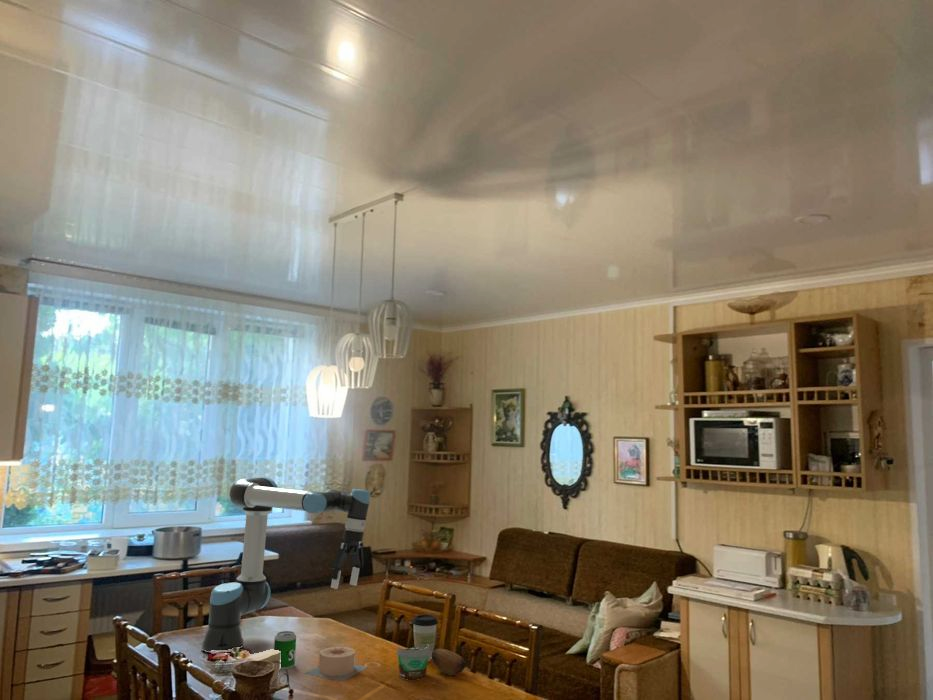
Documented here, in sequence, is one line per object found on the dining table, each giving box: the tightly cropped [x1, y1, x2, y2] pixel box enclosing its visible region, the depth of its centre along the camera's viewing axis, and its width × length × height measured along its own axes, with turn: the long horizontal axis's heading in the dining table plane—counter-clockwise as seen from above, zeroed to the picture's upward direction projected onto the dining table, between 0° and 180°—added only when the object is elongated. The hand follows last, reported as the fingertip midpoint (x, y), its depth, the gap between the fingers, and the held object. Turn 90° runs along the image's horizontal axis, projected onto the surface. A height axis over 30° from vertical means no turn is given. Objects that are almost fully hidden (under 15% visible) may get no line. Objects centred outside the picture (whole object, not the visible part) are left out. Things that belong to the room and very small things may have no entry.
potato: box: [431, 647, 466, 676], centre depth 231 cm, size 8×13×8 cm
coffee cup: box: [411, 614, 439, 662], centre depth 246 cm, size 10×10×15 cm
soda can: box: [273, 630, 297, 670], centre depth 232 cm, size 8×8×12 cm
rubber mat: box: [303, 663, 369, 682], centre depth 228 cm, size 16×16×1 cm
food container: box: [395, 644, 430, 681], centre depth 225 cm, size 12×6×10 cm, turn 117°
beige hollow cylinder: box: [318, 646, 356, 676], centre depth 229 cm, size 12×12×6 cm
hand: (343, 586), depth 249 cm, fingers open, 13 cm apart
